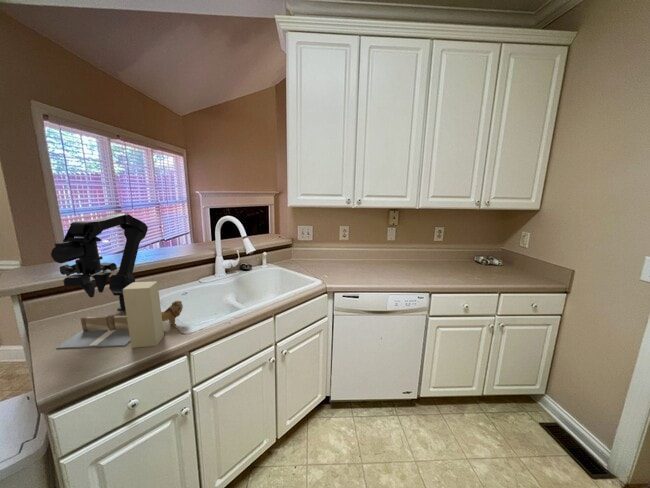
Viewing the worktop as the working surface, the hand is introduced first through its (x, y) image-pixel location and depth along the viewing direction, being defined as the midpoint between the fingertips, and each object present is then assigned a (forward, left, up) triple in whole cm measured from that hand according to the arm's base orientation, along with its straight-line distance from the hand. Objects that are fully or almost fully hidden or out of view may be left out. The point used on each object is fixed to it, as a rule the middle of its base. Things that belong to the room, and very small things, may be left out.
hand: (96, 294), depth 103 cm
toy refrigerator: (+14, +25, -12) cm, 31 cm away
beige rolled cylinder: (+6, +2, -11) cm, 13 cm away
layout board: (+7, +8, -12) cm, 16 cm away
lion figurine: (+4, +26, -12) cm, 29 cm away
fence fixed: (+6, +13, -12) cm, 18 cm away
